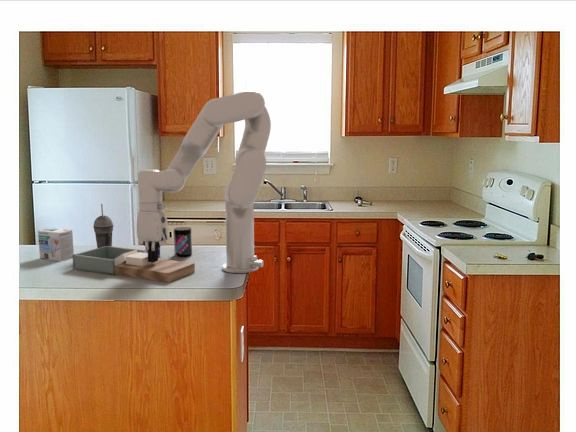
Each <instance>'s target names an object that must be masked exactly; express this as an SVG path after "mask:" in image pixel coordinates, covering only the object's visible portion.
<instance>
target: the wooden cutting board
mask: <svg viewBox="0 0 576 432" xmlns="http://www.w3.org/2000/svg"><path fill="white" fill-rule="evenodd" d="M195 272H196V266H195V263H194V262H188V261H179V260H171V259H166V258H165V259H164V258H158V261H156V262H153V263H150V264H147V265H144V266H139V265H132V264H126V262H125V263H122V264H118V265H115V275H116V276H117V275H118V276H123V277H131V278H137V279H144V280H149V281H157V282H163V283H171V282H174V281H176V280H178V279H181V278H183V277H186V276H188V275H191V274H193V273H195Z"/></svg>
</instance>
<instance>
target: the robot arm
mask: <svg viewBox="0 0 576 432" xmlns="http://www.w3.org/2000/svg"><path fill="white" fill-rule="evenodd" d="M265 102H266V101H265V99H264V96H263V95H262V94H261V93H260V92H258V91H257V90H253V89H251V90H250V89H249V90H244V91H240V92H237V93H234V94H229V95H224V96H221V97H217V98H212V99H209V100H208V101H207V102H206V103H205V104H204V106H203V107H202V109H201V110H200V112H199V114H198V115H197V117H196V119H195V120H194V121H193V122H192V125H191V126H190V128H189V130H188V131H187V133H186V135H185V136H184V137H183V139H182V142H181V145H180V147H179V149H178V150H177V152H176V154H175V156H174V157H173V158H172V160H171V162H170V163H169V165H168V166H167V168H166V170H159V169H155V168H154V169H151V168H150V169H149V168H147V169H140V170H139V171H138V172H137V187H138V188H137V189H138V192H137V193H138V208H139V210H138V212H137V219H136V236H137V239H138V243H140V244H142V245H144V248H145V247H146V250H148V262H156V261H158V259H159V258H158V249H159V248H160V249H161V247H162V246H166V245H167V240H169V238H170V237H169V224H168V218H167V214H166V211H165V210H163V209H165V207H166V206H165V204H164V203H163V192H166V193H178V192H180V191H181V190H182V189H183V188H184V187H185V185H186V181H187V179H188V178H189V176H190V175H191V173H192V171H194V168H195V167H196V165H197V164H198V162H199V161H200V159H202V158H203V157H204V156H205V155H206V153H207V152H208V150H209V149H210V148H211V146H212V144H213V143H214V141H215V139H216V138H217V136H218V135H219V133H220V131H221V130H222V128H223V127H224V125H229V124H232V123H236V122H237V123H238V122H240V121H244V130H243V133H242V139H241V142H240V144H239V145H240V146H239V147H238V151H237V153H236V155H235V160H234V162H235V163H234V164H235V166H234V171H233V174H232V176H231V179H230V180H229V181H228V182H227V184H226V185H225V188H224V205H225V236H226V237H225V240H226V241H225V243H226V245H225V246H226V262H225V263H223V264H222V265H221V267H222V268H221V269H222V271H224V272H225V273H232V274H246V273H252V272H255V271H258V269H259V268H264V260H262V259H258V256H257V255H255V211H254V203H255V202H256V200H257V198H258V195H259V192H260V189H261V185H262V183H263V179H264V175H265V172H266V168H267V157H266V155H265V153H266V148H267V146H268V142H269V138H270V134H271V130H272V129H271V126H272V123H271V116H270V114H269V112H268V108H267V107H266V103H265Z"/></svg>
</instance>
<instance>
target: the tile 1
mask: <svg viewBox="0 0 576 432" xmlns="http://www.w3.org/2000/svg"><path fill="white" fill-rule="evenodd" d="M137 250H138V249H137ZM137 250H133V251H130V252H127V253H124V254H121V255H120V256H118V257H117V258H115V259H114V260H115V265H118V264H122V263H125V262H126V256H129V255H132V254H135V253H138V252H137Z"/></svg>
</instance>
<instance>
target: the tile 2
mask: <svg viewBox="0 0 576 432" xmlns="http://www.w3.org/2000/svg"><path fill="white" fill-rule="evenodd" d="M150 263H153V262H148V253H142V252H139V253H135V254H132V255H129V256H126V264H132V265H139V266H144V265H147V264H150Z"/></svg>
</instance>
